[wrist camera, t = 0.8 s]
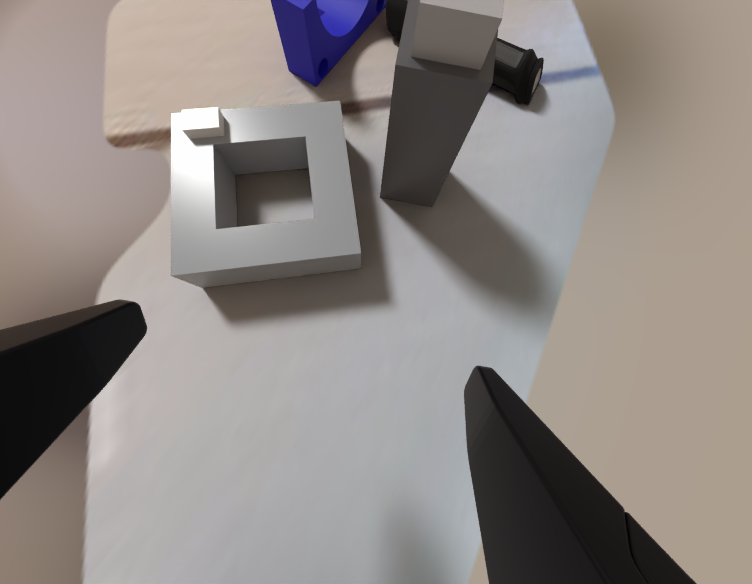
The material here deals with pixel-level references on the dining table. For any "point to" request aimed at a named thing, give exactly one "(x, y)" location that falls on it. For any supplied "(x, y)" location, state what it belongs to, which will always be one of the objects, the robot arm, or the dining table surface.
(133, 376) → the dining table surface
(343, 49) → the cable clip
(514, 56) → the electric trimmer
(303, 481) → the dining table surface
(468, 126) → the plug
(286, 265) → the socket
